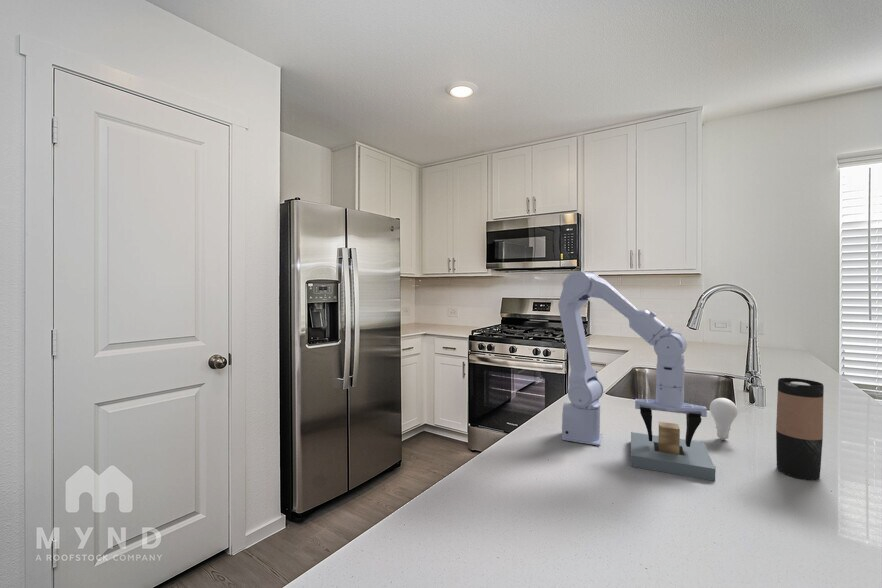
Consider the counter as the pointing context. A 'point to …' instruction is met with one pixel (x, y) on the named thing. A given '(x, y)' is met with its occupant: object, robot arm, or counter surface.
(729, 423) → the lightbulb
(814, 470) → the travel mug
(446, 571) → the counter surface
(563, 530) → the counter surface
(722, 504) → the counter surface
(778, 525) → the counter surface
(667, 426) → the peg
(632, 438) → the socket block
